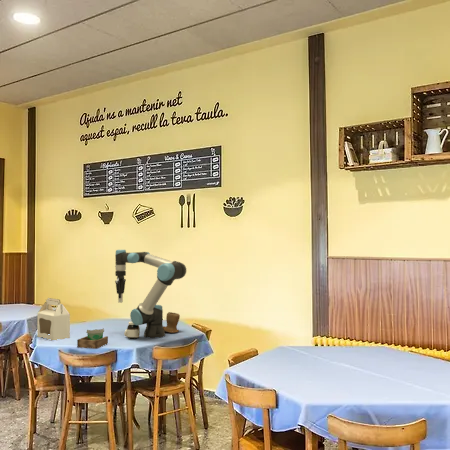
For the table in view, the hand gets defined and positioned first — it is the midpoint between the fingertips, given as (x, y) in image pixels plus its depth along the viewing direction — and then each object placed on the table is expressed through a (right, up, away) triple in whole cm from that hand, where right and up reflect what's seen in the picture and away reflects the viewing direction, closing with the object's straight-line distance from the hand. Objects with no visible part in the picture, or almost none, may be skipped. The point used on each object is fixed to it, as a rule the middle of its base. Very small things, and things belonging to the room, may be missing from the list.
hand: (120, 302), depth 370 cm
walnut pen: (-12, -24, -33) cm, 42 cm away
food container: (-10, -24, -29) cm, 39 cm away
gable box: (-47, -25, -7) cm, 54 cm away
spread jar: (+10, -25, -9) cm, 28 cm away
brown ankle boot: (+36, -25, +13) cm, 45 cm away
